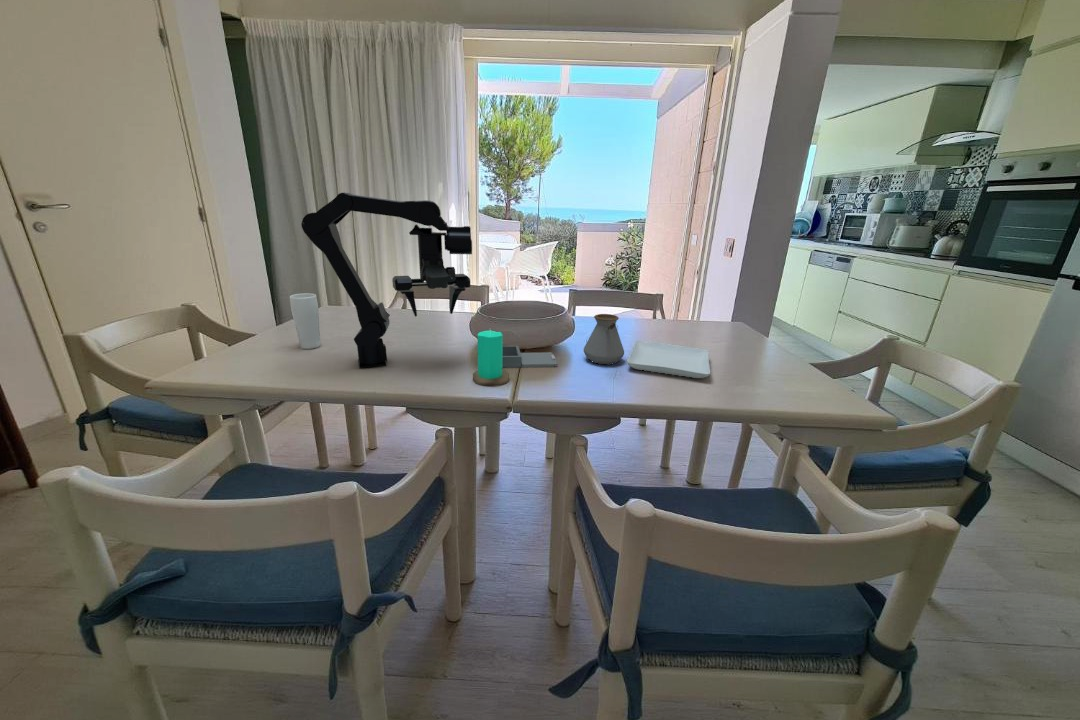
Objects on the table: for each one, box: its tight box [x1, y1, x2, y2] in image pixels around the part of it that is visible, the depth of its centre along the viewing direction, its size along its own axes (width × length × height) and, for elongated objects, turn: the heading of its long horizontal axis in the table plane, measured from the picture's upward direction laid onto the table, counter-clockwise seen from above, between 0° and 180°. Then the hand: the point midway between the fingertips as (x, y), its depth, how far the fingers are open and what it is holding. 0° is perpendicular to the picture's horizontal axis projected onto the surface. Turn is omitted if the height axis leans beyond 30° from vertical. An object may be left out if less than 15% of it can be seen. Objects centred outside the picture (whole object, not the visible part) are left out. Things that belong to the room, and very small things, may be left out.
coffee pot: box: [583, 313, 625, 365], centre depth 115 cm, size 21×12×15 cm, turn 177°
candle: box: [477, 329, 504, 379], centre depth 104 cm, size 6×6×12 cm
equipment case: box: [502, 345, 559, 369], centre depth 119 cm, size 19×10×3 cm, turn 98°
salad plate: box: [626, 339, 711, 379], centre depth 121 cm, size 21×21×3 cm
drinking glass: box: [289, 292, 322, 350], centre depth 122 cm, size 7×7×15 cm
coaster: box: [472, 368, 510, 387], centre depth 106 cm, size 9×9×1 cm
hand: (433, 314), depth 112 cm, fingers open, 9 cm apart
